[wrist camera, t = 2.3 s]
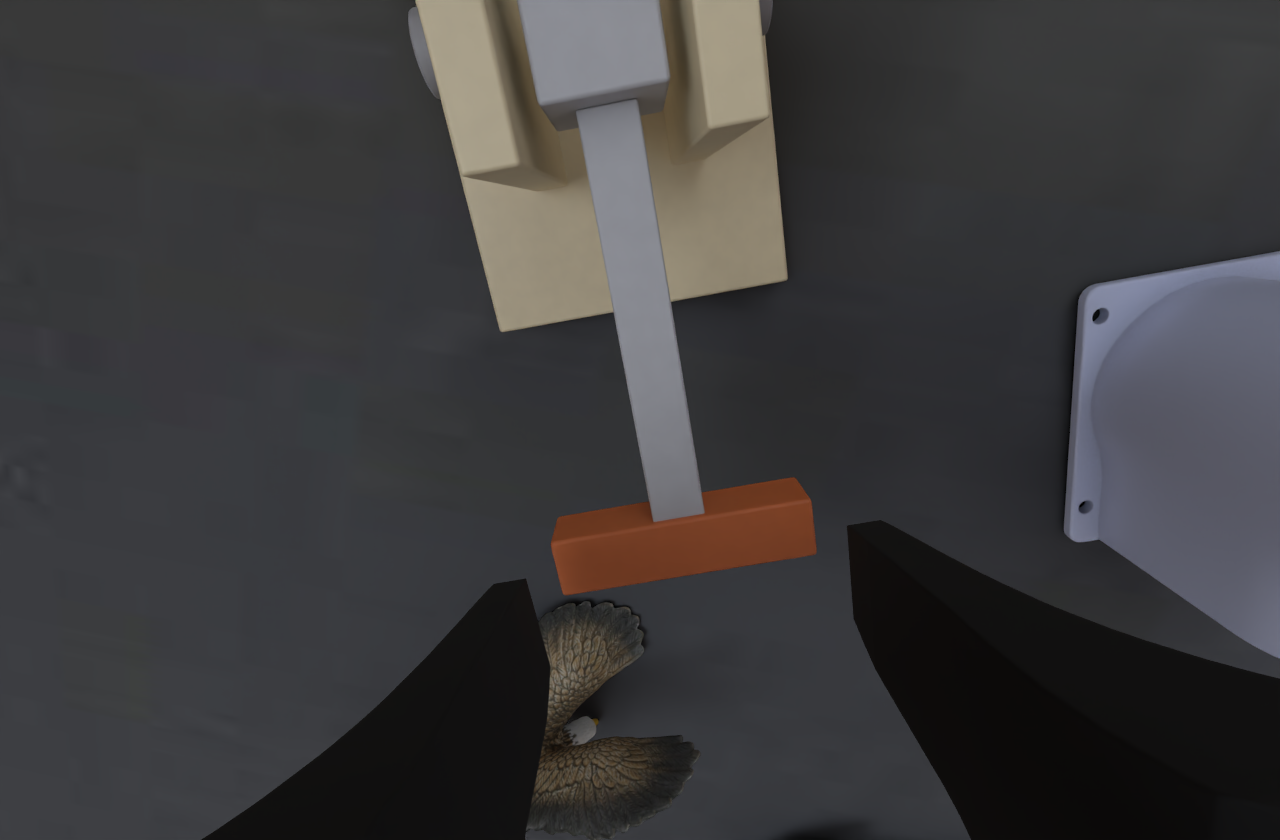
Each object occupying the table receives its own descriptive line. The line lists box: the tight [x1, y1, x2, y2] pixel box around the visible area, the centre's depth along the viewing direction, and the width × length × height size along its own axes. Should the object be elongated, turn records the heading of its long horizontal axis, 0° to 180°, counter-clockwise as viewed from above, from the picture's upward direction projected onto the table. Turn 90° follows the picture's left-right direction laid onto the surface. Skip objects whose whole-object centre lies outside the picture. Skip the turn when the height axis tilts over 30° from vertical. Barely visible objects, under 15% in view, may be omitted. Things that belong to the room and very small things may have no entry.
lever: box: [517, 0, 817, 595], centre depth 12 cm, size 12×6×2 cm, turn 10°
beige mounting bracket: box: [408, 0, 788, 332], centre depth 13 cm, size 12×9×9 cm
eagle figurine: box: [524, 601, 701, 840], centre depth 22 cm, size 8×7×9 cm
